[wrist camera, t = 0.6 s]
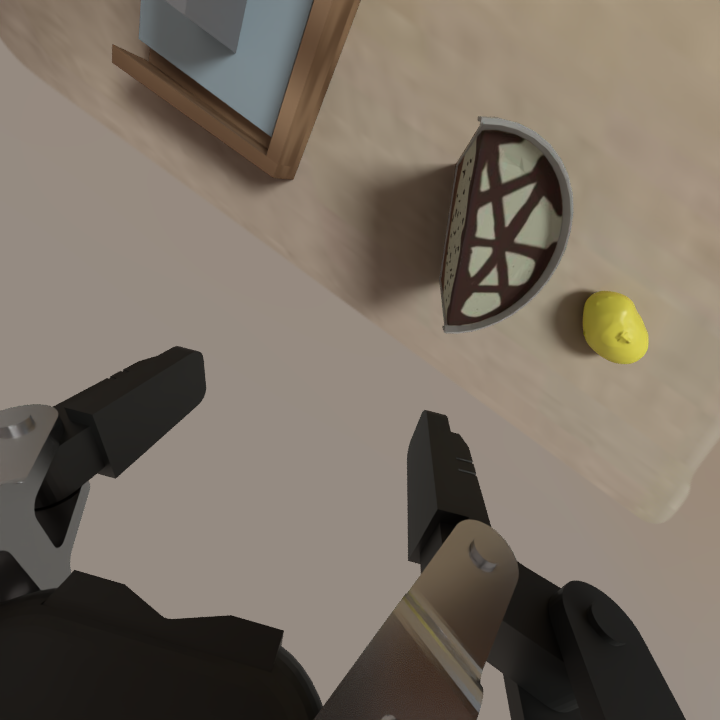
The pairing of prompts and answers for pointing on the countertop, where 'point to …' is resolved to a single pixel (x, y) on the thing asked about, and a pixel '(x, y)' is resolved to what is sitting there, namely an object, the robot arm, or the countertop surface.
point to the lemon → (614, 327)
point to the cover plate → (224, 68)
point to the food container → (502, 225)
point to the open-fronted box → (299, 106)
